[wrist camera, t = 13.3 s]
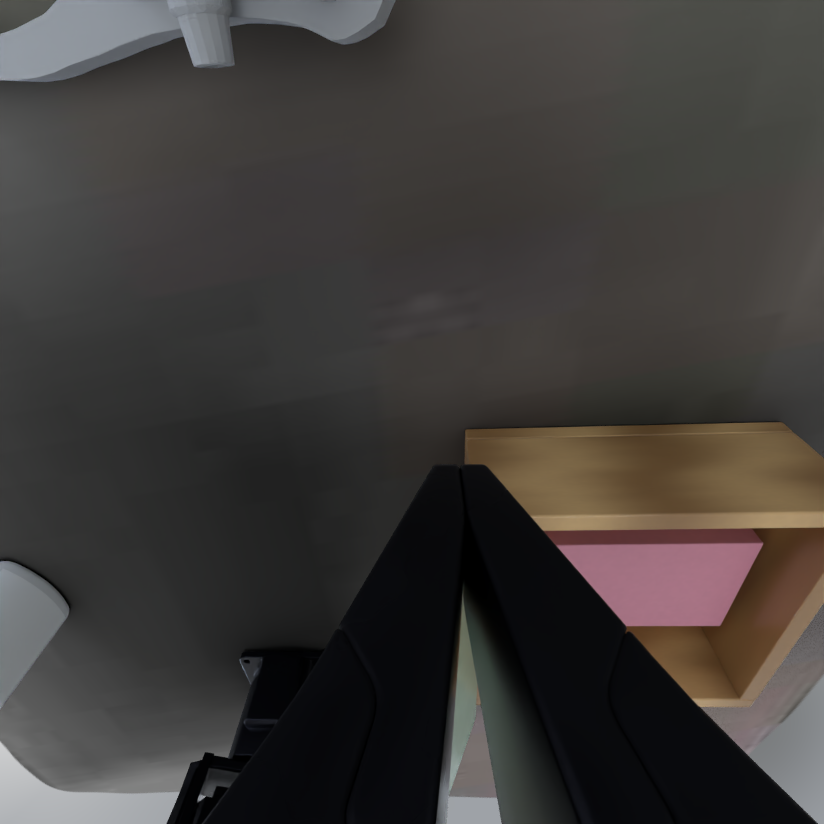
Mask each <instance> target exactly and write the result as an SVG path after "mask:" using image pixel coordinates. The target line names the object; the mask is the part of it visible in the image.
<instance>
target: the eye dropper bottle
mask: <svg viewBox="0 0 824 824" xmlns="http://www.w3.org/2000/svg"><path fill="white" fill-rule="evenodd" d="M68 614H69V606H68V604H67V603H66V601H65V599H64V598H63V597H62V595H61V594H60V593H59V592H58V591H57V590H56V589H55V588H54V587H53V586H52V585H51V584H50V583H48V582H47V581H46V580H44V579H43V578H42V577H40V576H39V575H37V574H36V573H34V572H32V571H31V570H29V569H27V568H25V567H23V566H21V565H19V564H17V563H14V562H10V561H1V562H0V709H1V708H2V706H3V705H4V703H5V702H6V701H7V699H8V698H9V697H10V695H11V694H12V693H13V691H14V690H15V688H16V687H17V686H18V684H19V683H20V682H21V680H22V679H23V678H24V676H25V675H26V673H27V672H28V671H29V669H30V668H31V667H32V665H33V664H34V662H35V661H36V660H37V658H38V657H39V656H40V654H41V653H42V651H43V650H44V649H45V647H46V646H47V645H48V643H49V642H50V640H51V639H52V638H53V636H54V635H55V634H56V632H57V631H58V629H59V628H60V627H61V625H62V624H63V623H64V621H65V620H66V618H67V617H68Z"/></svg>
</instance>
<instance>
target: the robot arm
mask: <svg viewBox="0 0 824 824" xmlns="http://www.w3.org/2000/svg"><path fill="white" fill-rule="evenodd" d="M462 594H463V602H464V609H465V616H466V622H467V628H468V633H469V639H470V645H471V650H472V656H473V662H474V668H475V673H476V679H477V685H478V690H479V696H480V702H481V708H482V713H483V719H484V725H485V730H486V736H487V742H488V748H489V753H490V759H491V765H492V770H493V776H494V782H495V788H496V793H497V799H498V804H499V810H500V816H501V822H502V824H818V823H816V821H815V820H814V819H813V818H812V817H811V816H809V815H808V813H806V812H805V811H804V810H803V809H802V808H801V807H800V806H799V805H798V804H797V803H796V802H795V801H794V800H793V799H792V798H791V797H790V796H789V795H788V794H787V793H786V792H785V791H784V790H783V789H782V788H781V787H780V786H779V785H778V784H777V783H776V782H775V781H774V780H772V779H771V777H769V776H768V775H767V774H766V773H765V772H764V771H763V770H762V769H761V768H760V767H759V766H758V765H757V764H756V763H755V762H754V761H753V760H752V759H751V758H750V757H749V756H748V755H747V754H746V753H745V752H744V751H743V750H742V749H741V748H740V747H739V746H738V745H737V744H736V743H735V742H734V741H733V740H732V739H731V738H730V737H729V736H728V735H727V734H726V733H725V732H724V731H723V730H722V729H721V728H720V727H719V726H718V725H717V724H716V723H715V722H714V721H713V720H712V719H711V718H710V717H709V716H708V715H707V714H706V713H705V712H704V711H703V710H702V709H701V708H700V707H699V706H698V705H697V704H696V703H695V702H694V701H693V700H692V698H691V697H690V696H689V695H688V694H687V693H686V692H685V691H684V690H683V689H682V688H681V686H680V685H679V684H678V683H677V682H676V681H675V680H674V679H673V678H672V677H671V675H670V674H669V673H668V672H667V671H666V670H665V669H664V668H663V667H662V666H661V665H660V663H659V662H658V661H657V660H656V659H655V658H654V657H653V656H652V655H651V653H650V652H649V651H648V650H647V649H646V648H645V647H644V645H643V644H642V643H641V642H640V641H639V640H638V638H637V637H636V636H635V635H634V634H633V633H632V632H631V631H628V632H626V630H627V627H626V625H625V624H624V623H623V622H622V620H621V619H620V618H619V617H618V616H617V615H616V614H615V612H614V611H613V610H612V609H611V608H610V607H609V606H608V604H607V603H606V602H605V601H604V600H603V599H602V597H601V596H600V595H599V594H598V593H597V592H596V591H595V589H594V588H593V587H592V586H591V585H590V584H589V583H588V581H587V580H586V579H585V578H584V577H583V576H582V575H581V573H580V572H579V571H578V570H577V569H576V568H575V567H574V565H573V564H572V563H571V562H570V561H569V560H568V559H567V557H566V556H565V555H564V554H563V553H562V552H561V550H560V549H559V548H558V547H557V546H556V545H555V544H554V542H553V541H552V540H551V539H550V538H549V537H548V536H547V534H546V533H545V532H544V531H543V530H542V529H541V528H540V526H539V525H538V524H537V523H536V522H535V521H534V520H533V518H532V517H531V516H530V515H529V514H528V513H527V512H526V510H525V509H524V508H523V507H522V506H521V505H520V503H519V502H518V501H517V500H516V499H515V498H514V497H513V495H512V494H511V493H510V492H509V491H508V490H507V489H506V487H505V486H504V485H503V484H502V483H501V482H500V481H499V479H498V478H497V477H496V476H495V475H494V474H493V473H492V471H491V470H490V469H489V468H488V467H487V466H486V465H484V464H463V465H461V467H460V469H459V467H458V465H456V464H437V465H434V466H433V467H432V469H431V470H430V472H429V474H428V475H427V477H426V479H425V481H424V482H423V484H422V486H421V487H420V489H419V491H418V492H417V494H416V496H415V497H414V499H413V501H412V503H411V504H410V506H409V508H408V509H407V511H406V513H405V514H404V516H403V518H402V520H401V521H400V523H399V525H398V526H397V528H396V530H395V531H394V533H393V535H392V536H391V538H390V540H389V542H388V543H387V545H386V547H385V548H384V550H383V552H382V553H381V555H380V557H379V559H378V560H377V562H376V564H375V565H374V567H373V569H372V570H371V572H370V574H369V575H368V577H367V579H366V581H365V582H364V584H363V586H362V587H361V589H360V591H359V592H358V594H357V596H356V598H355V599H354V601H353V603H352V604H351V606H350V608H349V609H348V611H347V613H346V614H345V616H344V618H343V620H342V621H341V623H340V629H337V630H336V631H335V633H334V634H333V636H332V638H331V639H330V641H329V643H328V644H327V646H326V648H325V650H324V651H323V652H243V653H242V655H241V658H240V663H241V665H242V667H243V669H244V672H245V674H246V676H247V678H248V680H249V683H250V685H251V687H250V690H249V693H248V696H247V699H246V702H245V706H244V709H243V712H242V715H241V718H240V722H239V725H238V728H237V731H236V734H235V737H234V741H233V744H232V747H231V750H230V753H229V756H228V758H225V757H219V756H214V754H213V753H207V752H205V754H204V757H203V759H202V760H200V761H197V762H192V763H191V764H190V767H189V769H188V772H187V775H186V777H185V780H184V783H183V785H182V788H181V791H180V793H179V796H178V798H177V801H176V803H175V805H174V808H173V810H172V812H171V815H170V817H169V819H168V822H167V824H446V822H447V809H448V795H449V782H450V768H451V754H452V740H453V727H454V713H455V699H456V686H457V672H458V658H459V645H460V631H461V617H462ZM203 796H206V797H205V798H203ZM208 796H209V797H208Z"/></svg>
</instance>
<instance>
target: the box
mask: <svg viewBox="0 0 824 824" xmlns="http://www.w3.org/2000/svg"><path fill="white" fill-rule="evenodd" d="M465 464H484V465H486V466H487V467H488V468H489V469H490V470H491V471H492V473H493V474H494V475H495V476H496V477H497V478H498V479H499V481H500V482H501V483H502V484H503V485H504V486H505V487H506V489H507V490H508V491H509V492H510V493H511V494H512V495H513V497H514V498H515V499H516V500H517V501H518V502H519V503H520V505H521V506H522V507H523V508H524V509H525V510H526V512H527V513H528V514H529V515H530V516H531V517H532V518H533V520H534V521H535V522H536V523H537V524H538V525H539V526H540V528H541V529H542V530H543V531H573V530H658V529H744V528H752V529H753V531H754V532H755V533H756V534H757V536H758V537H759V538H760V539H761V541H762V542H763V545H762V547H761V549H760V551H759V553H758V555H757V557H756V559H755V561H754V563H753V564H752V566H751V568H750V570H749V572H748V574H747V576H746V578H745V580H744V582H743V583H742V585H741V587H740V589H739V591H738V593H737V595H736V597H735V599H734V601H733V603H732V604H731V606H730V608H729V610H728V612H727V614H726V616H725V618H724V620H723V622H722V623H721V625H720V626H626V627H627V630H626V632H628V631H631V632H632V633H633V634H634V635H635V636H636V637H637V638H638V640H639V641H640V642H641V643H642V644H643V645H644V647H645V648H646V649H647V650H648V651H649V652H650V653H651V655H652V656H653V657H654V658H655V659H656V660H657V661H658V662H659V663H660V665H661V666H662V667H663V668H664V669H665V670H666V671H667V672H668V673H669V674H670V675H671V677H672V678H673V679H674V680H675V681H676V682H677V683H678V684H679V685H680V686H681V688H682V689H683V690H684V691H685V692H686V693H687V694H688V695H689V696H690V697H691V698H692V700H693V701H694V702H695V703H696V704H697V705H698V706H699V707H751V705H752V704H753V702H754V701H755V700H756V699H757V698H758V696H759V695H760V693H761V692H762V691H763V689H764V688H765V686H766V685H767V683H768V682H769V681H770V679H771V678H772V676H773V675H774V673H775V672H776V670H777V669H778V668H779V666H780V665H781V663H782V662H783V660H784V659H785V658H786V656H787V655H788V653H789V652H790V650H791V649H792V648H793V646H794V645H795V643H796V642H797V640H798V639H799V638H800V636H801V635H802V633H803V632H804V630H805V629H806V628H807V626H808V625H809V623H810V622H811V620H812V619H813V618H814V616H815V615H816V613H817V612H818V610H819V609H820V608H821V606H822V605H823V603H824V458H823V457H822V456H821V455H820V454H818V453H817V452H816V451H815V450H814V449H813V448H811V447H810V446H809V445H808V444H807V443H805V442H804V441H803V440H802V439H801V438H800V437H798V436H797V435H796V434H795V433H793V431H792V430H791V429H789V428H788V427H787V426H786V425H785V424H784V423H782V422H759V423H716V424H674V425H631V426H588V427H545V428H502V429H466V430H465ZM476 705H481V702H480V696H479V690H478V685H477V699H476Z"/></svg>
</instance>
